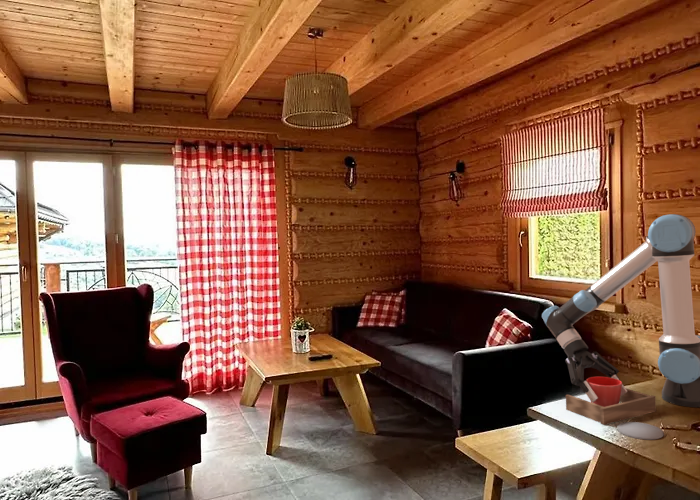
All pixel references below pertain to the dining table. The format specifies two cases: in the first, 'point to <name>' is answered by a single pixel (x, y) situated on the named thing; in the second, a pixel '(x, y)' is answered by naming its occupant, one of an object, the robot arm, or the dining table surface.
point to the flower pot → (605, 390)
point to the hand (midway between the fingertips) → (610, 397)
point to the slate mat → (640, 430)
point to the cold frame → (613, 407)
